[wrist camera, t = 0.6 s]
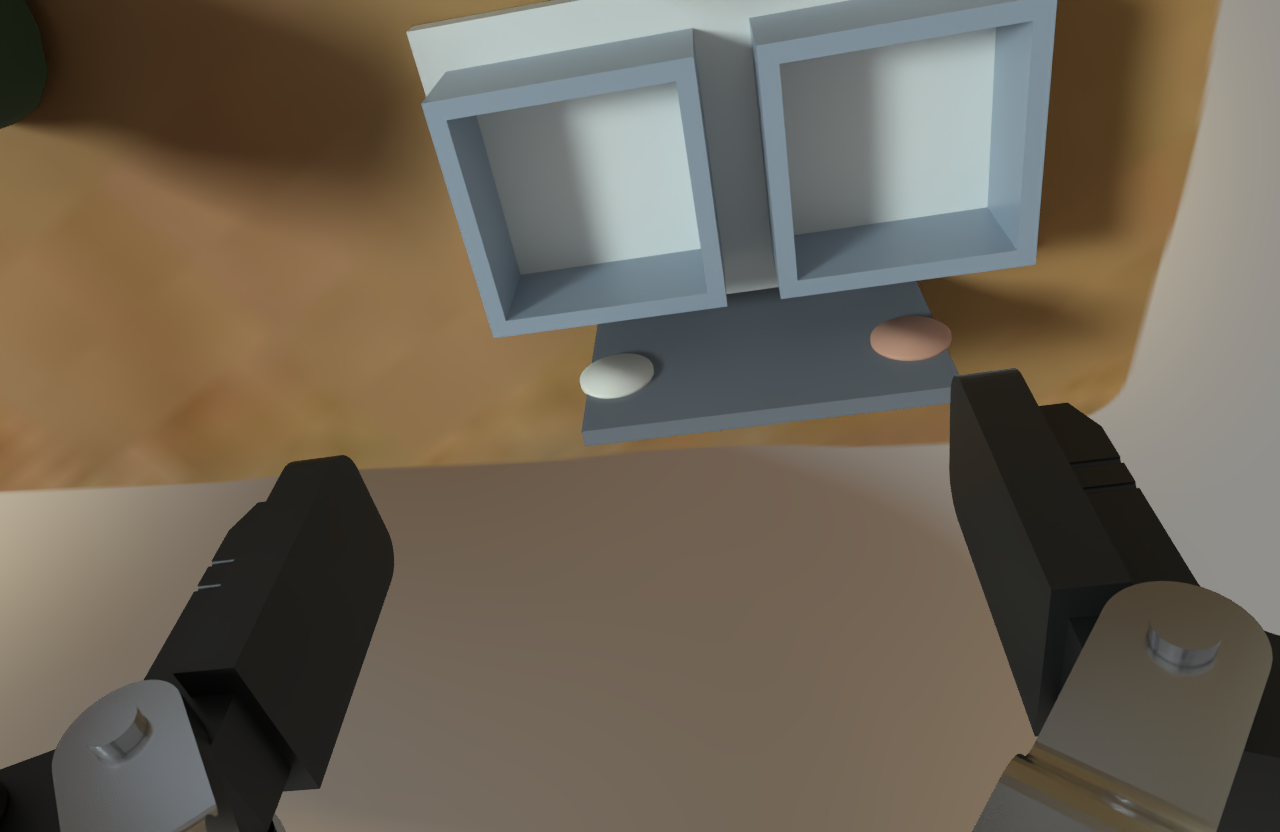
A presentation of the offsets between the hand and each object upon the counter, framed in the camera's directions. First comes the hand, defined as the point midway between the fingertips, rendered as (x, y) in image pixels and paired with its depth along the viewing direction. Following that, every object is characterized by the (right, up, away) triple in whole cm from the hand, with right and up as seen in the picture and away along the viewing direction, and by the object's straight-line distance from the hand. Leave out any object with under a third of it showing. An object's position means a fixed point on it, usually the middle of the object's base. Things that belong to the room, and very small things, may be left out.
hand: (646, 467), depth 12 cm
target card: (+4, +5, +23) cm, 24 cm away
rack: (+3, +10, +20) cm, 22 cm away
